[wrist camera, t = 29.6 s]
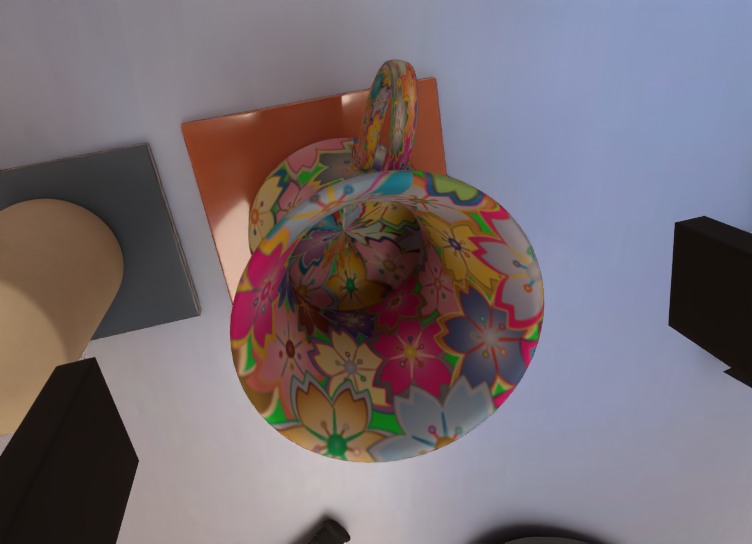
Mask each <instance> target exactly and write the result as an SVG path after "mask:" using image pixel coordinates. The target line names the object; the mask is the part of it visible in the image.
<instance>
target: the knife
mask: <svg viewBox="0 0 752 544" xmlns="http://www.w3.org/2000/svg"><path fill="white" fill-rule="evenodd" d="M324 523H325V525H324V526H323V527H322V528H321V529H320V530H319V531H318V532H317V533H316V536H314V537H313V539H312V540H311V541H310V542H309V543H308V544H344V543H345V542H348V541H350V535H349V534H348V532H347V531H346V530H345V529H344V528H343V527H342V526H341V525H340V524H338V523H337V522H336V521H334V520H332V519H327V520H325V521H324Z"/></svg>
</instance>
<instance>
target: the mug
mask: <svg viewBox="0 0 752 544" xmlns="http://www.w3.org/2000/svg"><path fill="white" fill-rule="evenodd" d="M391 96H392V111H391V125H390V133H389V140H388V146H387V147H386V146H384V145H382V144H379V143H378V141H379V137H380V132H381V128H382V124H383V121H384V117H385V114H386V110H387V107H388V104H389V101H390V99H391ZM417 113H418V89H417V80H416V75H415V71H414V69H413V67H412V66H411V64H409V63H408V62H406V61H402V60H389V61H386V62H385V63H384V64H383V65H382V66H381V68H380V69H379V71H378V73H377V75H376V77H375V79H374V82H373V84H372V87H371V90H370V93H369V96H368V99H367V103H366V107H365V111H364V115H363V119H362V124H361V129H360V134H359V139H358V138H335V139H329V140H324V141H320V142H317V143H313V144H311V145H309V146H306V147H304V148H302V149H300V150H298V151H296V152H295V153H293V154H292V155H290V156H289V157H287V158H286V159H285V160H283V161H282V162H281V163H280V164H279V165H278V166H277V167H276V168H275V169H274V170H273V171H272V172H271V173H270V175H269V176H268V177H267V178H266V180H265V181H264V183H263V184H262V186H261V187H260V189H259V191H258V193H257V195H256V198H255V200H254V203H253V206H252V209H251V213H250V218H249V227H248V240H249V248H250V253H251V257H250V259H249V261H248V263H247V265H246V267H245V269H244V271H243V273H242V276H241V278H240V281H239V283H238V286H237V290H236V293H235V297H234V300H233V306H232V313H231V324H230V340H231V351H232V356H233V362H234V365H235V369H236V372H237V375H238V378H239V380H240V382H241V385H242V387H243V389H244V391H245V393H246V394H247V396H248V398H249V400H250V401H251V403H252V404H253V405H254V407H255V408H256V410H257V411H258V412H259V413H260V414H261V416H262V417H263V418H264V419H265V420H266V421H267V422H268V423H269V424H270V425H271V426H272V427H273V428H275V429H276V430H277V431H278V432H279V433H281V434H282V435H283V436H285V437H286V438H288V439H289V440H291V441H292V442H294V443H296V444H298V445H299V446H301V447H303V448H305V449H308V450H310V451H312V452H315V453H318V454H321V455H324V456H327V457H330V458H335V459H339V460H345V461H352V462H366V463H372V462H389V461H397V460H402V459H407V458H412V457H415V456H419V455H423V454H426V453H428V452H431V451H434V450H437V449H439V448H441V447H443V446H445V445H448V444H450V443H452V442H453V441H455V440H457V439H459V438H461V437H462V436H464V435H466V434H467V433H469V432H470V431H472V430H473V429H475V428H476V427H477V426H479V425H480V424H481V423H482V422H484V421H485V420H486V419H487V418H488V417H489V416H491V415H492V414H493V413H494V412H495V411H496V410H497V409H498V408H499V407H500V406H501V405H502V404H503V403H504V402H505V400H506V399H507V398H508V397H509V395H510V394H511V393H512V392H513V390H514V389H515V387H516V386H517V385H518V383H519V382H520V380H521V379H522V377H523V375H524V373H525V372H526V370H527V368H528V366H529V364H530V362H531V359H532V357H533V355H534V352H535V349H536V347H537V344H538V340H539V336H540V332H541V328H542V322H543V314H544V289H543V282H542V276H541V272H540V268H539V264H538V261H537V258H536V255H535V253H534V250H533V248H532V246H531V244H530V242H529V240H528V238H527V236H526V235H525V233H524V232H523V230H522V229H521V227H520V226H519V224H518V223H517V222H516V221H515V219H514V218H513V217H512V216H511V215H510V214H509V213H508V212H507V211H506V210H505V209H504V208H503V207H502V206H501V205H500V204H499V203H497V202H496V201H495V200H493V199H492V198H491V197H489V196H488V195H487V194H485V193H483V192H482V191H480V190H478V189H476V188H475V187H473V186H471V185H469V184H466V183H464V182H462V181H460V180H457V179H454V178H451V177H448V176H445V175H441V174H436V173H431V172H425V171H418V170H417V169H416V168H415V167H414V166H413V165H412V164H411V163H410V162H409V161H410V157H411V154H412V149H413V145H414V139H415V133H416V125H417Z"/></svg>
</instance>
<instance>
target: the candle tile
mask: <svg viewBox="0 0 752 544" xmlns="http://www.w3.org/2000/svg"><path fill="white" fill-rule="evenodd" d="M34 199H57V200H63V201H67V202H70V203H74V204H76V205H79V206H81V207H83V208H85V209H87V210H89V211H90V212H92V213H93V214H95V215H96V216H98V217H99V218H100V219H101V220H102V221H103V222H104V223H105V224H106V225H107V226H108V227H109V228H110V229H111V231H112V232H113V234H114V235H115V237H116V238H117V240H118V242H119V245H120V247H121V250H122V254H123V261H124V270H123V278H122V282H121V285H120V287H119V290H118V292H117V294H116V296H115V298H114V300H113V301H112V303H111V305H110V307H109V308H108V310H107V312H106V313H105V315H104V317H103V319H102V320H101V322H100V324H99V326H98V327H97V329H96V331H95V333H94V334H93V336H92V338H91V340H95V339H99V338H104V337H108V336H113V335H117V334H121V333H126V332H130V331H134V330H139V329H143V328H147V327H152V326H156V325H160V324H165V323H169V322H174V321H178V320H182V319H187V318H191V317H195V316H199V315H200V314H201V307H200V304H199V301H198V297H197V294H196V291H195V288H194V285H193V282H192V278H191V275H190V272H189V269H188V266H187V263H186V259H185V256H184V253H183V250H182V247H181V244H180V241H179V237H178V234H177V231H176V228H175V225H174V222H173V218H172V215H171V212H170V209H169V206H168V203H167V199H166V196H165V193H164V190H163V187H162V184H161V180H160V177H159V174H158V171H157V168H156V165H155V162H154V158H153V155H152V152H151V149H150V146H149V143H142V144H137V145H132V146H126V147H121V148H116V149H110V150H105V151H100V152H94V153H89V154H84V155H79V156H73V157H68V158H63V159H57V160H52V161H47V162H41V163H36V164H31V165H26V166H20V167H15V168H10V169H4V170H0V211H2V210H4V209H6V208H8V207H10V206H12V205H14V204H17V203H20V202H23V201H28V200H34ZM91 340H90V341H91Z"/></svg>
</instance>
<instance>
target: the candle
mask: <svg viewBox="0 0 752 544" xmlns="http://www.w3.org/2000/svg"><path fill="white" fill-rule="evenodd" d="M123 270H124V261H123V254H122V250H121V247H120V245H119V242H118V240H117V238H116V237H115V235H114V234H113V232H112V231H111V229H110V228H109V227H108V226H107V225H106V224H105V223H104V222H103V221H102V220H101V219H100V218H99V217H98V216H96V215H95V214H93V213H92V212H90V211H89V210H87V209H85V208H83V207H81V206H79V205H76V204H74V203H70V202H67V201H63V200H57V199H34V200H28V201H23V202H20V203H17V204H14V205H12V206H10V207H8V208H6V209H4V210H2V211H0V436H3V435H6V434H9V433H12V432H15V431H16V430H17V429H18V427H19V425H20V424H21V422H22V421H23V419H24V417H25V416H26V414H27V412H28V411H29V409H30V408H31V406H32V404H33V403H34V401H35V400H36V398H37V396H38V395H39V393H40V391H41V390H42V388H43V387H44V385H45V383H46V382H47V380H48V378H49V377H50V375H51V374H52V372H53V370H54V369H55V367H56V366H59V365H63V364H67V363H71V362H76V361H78V360H79V359H80V357H81V355H82V354H83V352H84V350H85V348H86V347H87V345H88V343H89V341H90V340H91V338H92V336H93V334H94V333H95V331H96V329H97V327H98V326H99V324H100V322H101V320H102V319H103V317H104V315H105V313H106V312H107V310H108V308H109V307H110V305H111V303H112V301H113V300H114V298H115V296H116V294H117V292H118V290H119V287H120V285H121V282H122V278H123Z"/></svg>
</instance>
